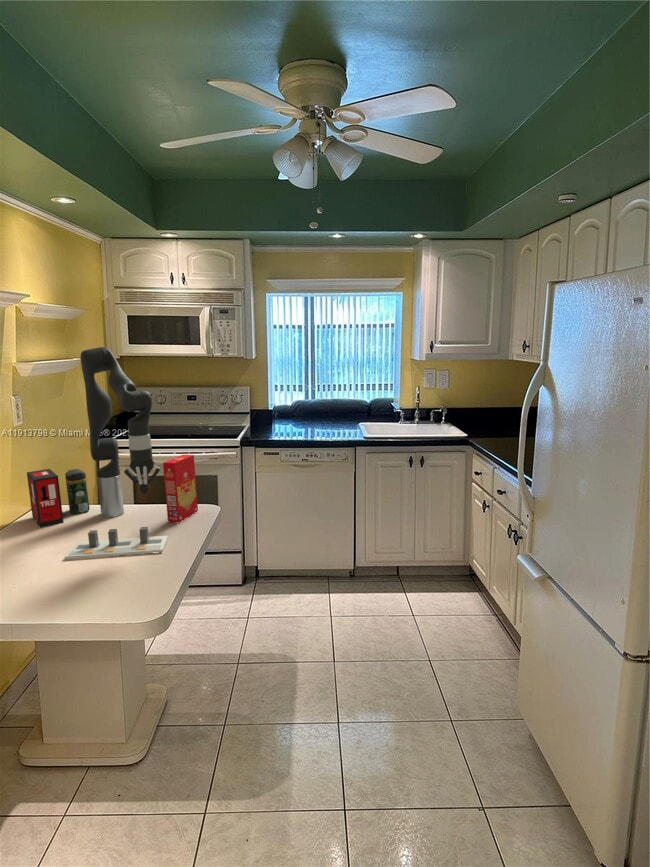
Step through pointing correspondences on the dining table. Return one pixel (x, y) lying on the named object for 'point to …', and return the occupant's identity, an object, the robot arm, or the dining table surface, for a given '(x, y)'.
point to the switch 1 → (93, 538)
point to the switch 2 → (144, 535)
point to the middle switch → (113, 536)
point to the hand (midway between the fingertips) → (144, 493)
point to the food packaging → (180, 487)
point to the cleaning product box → (45, 497)
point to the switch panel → (117, 548)
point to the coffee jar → (77, 491)
